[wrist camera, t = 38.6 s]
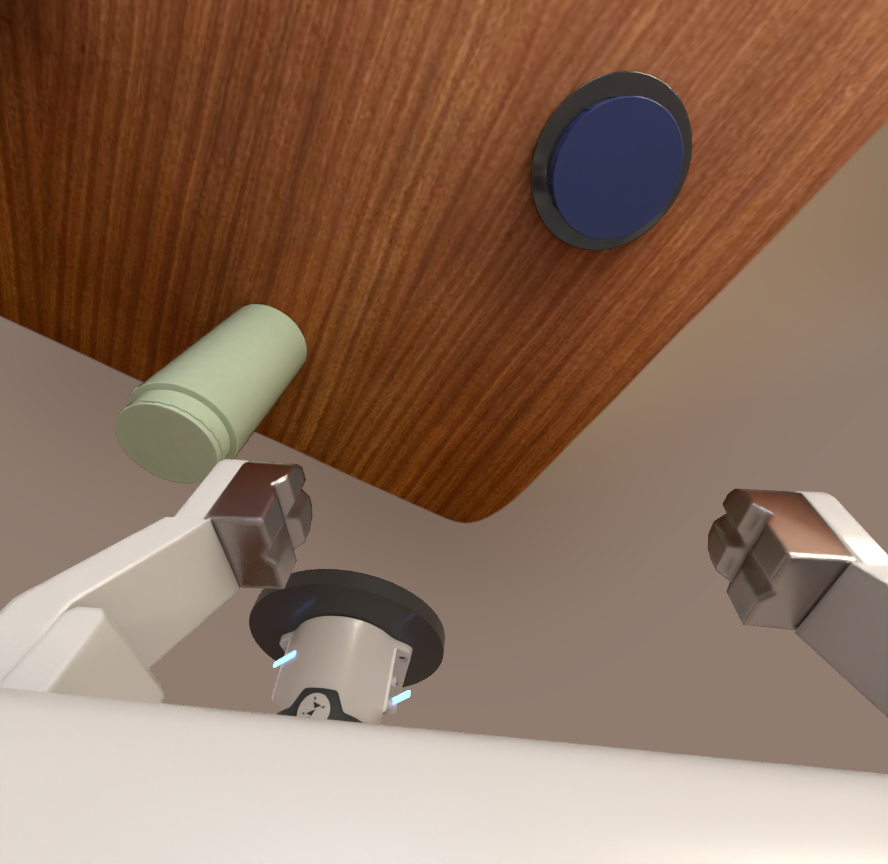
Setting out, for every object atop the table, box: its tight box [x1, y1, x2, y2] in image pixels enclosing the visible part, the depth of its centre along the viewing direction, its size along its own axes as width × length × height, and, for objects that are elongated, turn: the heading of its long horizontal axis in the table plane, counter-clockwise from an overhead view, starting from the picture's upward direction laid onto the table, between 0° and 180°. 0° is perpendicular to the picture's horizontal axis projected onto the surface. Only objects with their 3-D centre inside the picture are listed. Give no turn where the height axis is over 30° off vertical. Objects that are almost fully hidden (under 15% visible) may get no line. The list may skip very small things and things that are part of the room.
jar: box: [115, 304, 307, 484], centre depth 30 cm, size 6×6×14 cm
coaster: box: [531, 71, 692, 250], centre depth 26 cm, size 9×9×1 cm
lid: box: [548, 96, 683, 240], centre depth 25 cm, size 7×7×2 cm
